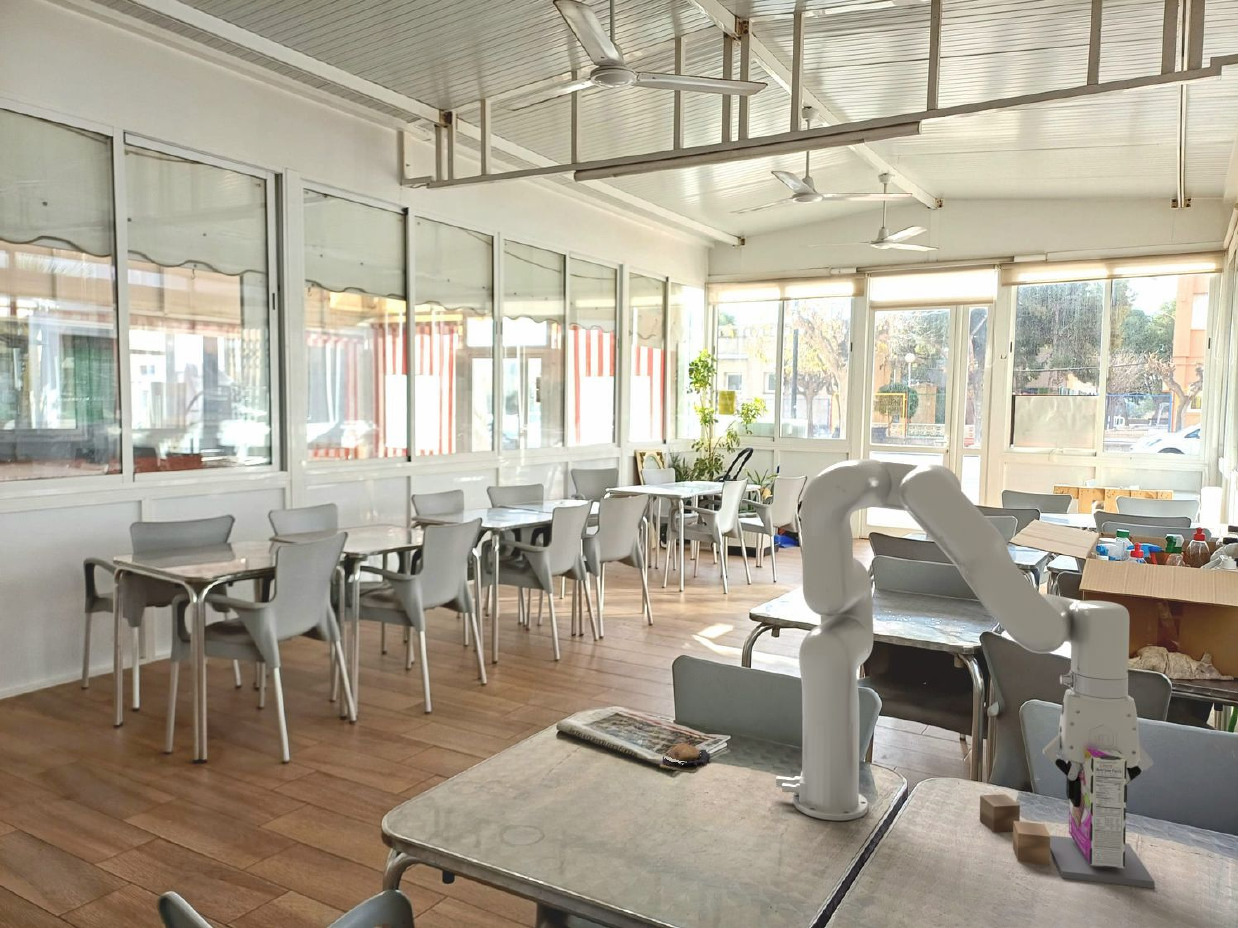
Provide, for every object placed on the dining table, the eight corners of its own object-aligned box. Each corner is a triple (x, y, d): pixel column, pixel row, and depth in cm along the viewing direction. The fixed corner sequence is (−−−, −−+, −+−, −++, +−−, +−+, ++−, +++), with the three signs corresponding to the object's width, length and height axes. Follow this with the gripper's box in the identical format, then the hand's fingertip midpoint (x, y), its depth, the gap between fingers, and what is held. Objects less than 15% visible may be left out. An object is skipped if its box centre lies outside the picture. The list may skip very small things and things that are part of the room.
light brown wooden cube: (1017, 861, 134) (1018, 832, 134) (1013, 848, 138) (1013, 820, 138) (1049, 865, 133) (1050, 836, 133) (1043, 852, 137) (1044, 823, 137)
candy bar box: (1066, 832, 139) (1068, 729, 139) (1100, 835, 138) (1103, 731, 138) (1088, 867, 128) (1091, 754, 128) (1126, 870, 127) (1129, 757, 127)
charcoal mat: (1061, 877, 129) (1061, 870, 129) (1044, 840, 141) (1044, 834, 141) (1154, 888, 126) (1154, 881, 126) (1128, 849, 138) (1129, 843, 138)
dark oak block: (993, 833, 144) (993, 806, 143) (979, 821, 148) (980, 795, 148) (1019, 831, 144) (1019, 805, 144) (1004, 820, 148) (1005, 794, 148)
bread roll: (695, 777, 168) (695, 758, 168) (655, 769, 172) (655, 750, 172) (716, 758, 178) (716, 740, 178) (677, 751, 182) (678, 733, 182)
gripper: (1041, 687, 131) (1038, 809, 132) (1172, 697, 127) (1168, 823, 127) (1031, 674, 138) (1029, 789, 139) (1154, 682, 134) (1151, 801, 135)
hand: (1095, 804), depth 133 cm, fingers closed on candy bar box, 5 cm apart
